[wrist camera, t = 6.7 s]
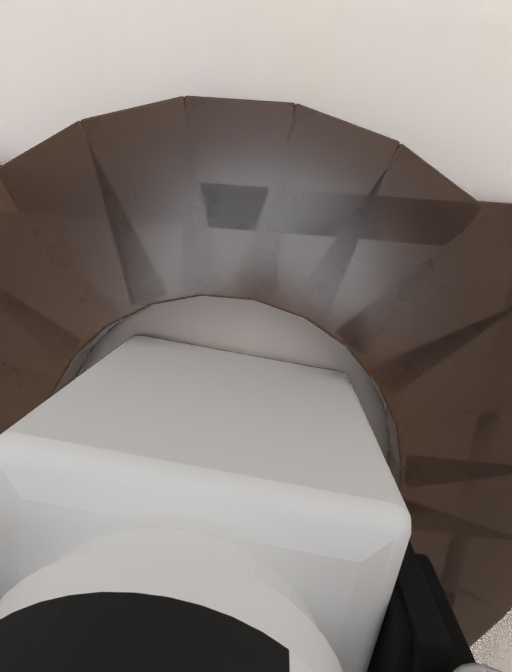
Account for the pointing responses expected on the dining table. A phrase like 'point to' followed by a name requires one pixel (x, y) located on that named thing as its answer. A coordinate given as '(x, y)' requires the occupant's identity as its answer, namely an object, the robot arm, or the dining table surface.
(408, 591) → the robot arm
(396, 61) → the dining table surface
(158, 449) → the medicine bottle
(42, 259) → the holder board
